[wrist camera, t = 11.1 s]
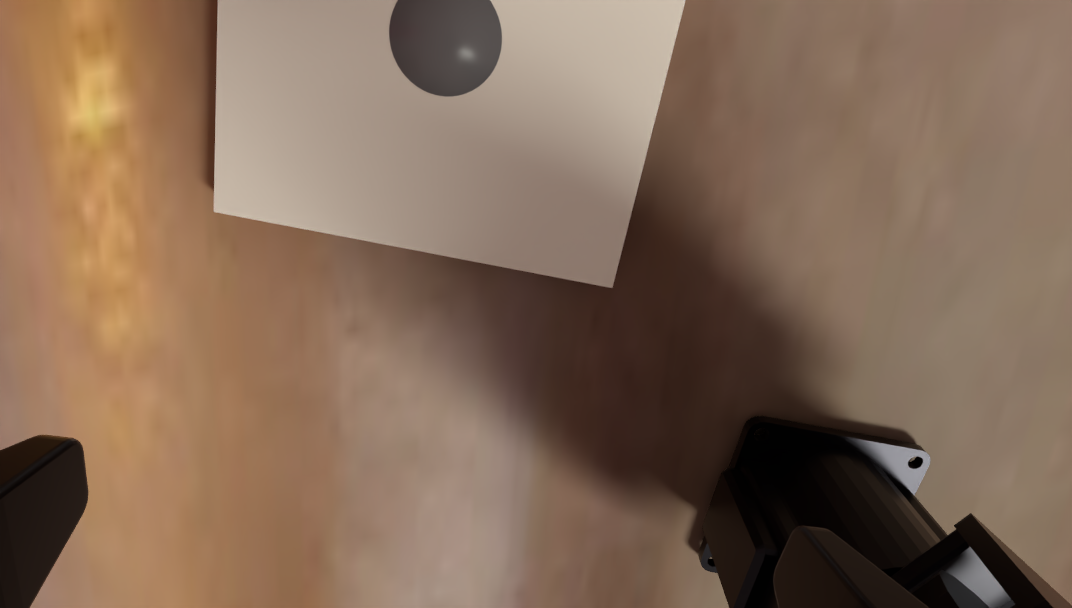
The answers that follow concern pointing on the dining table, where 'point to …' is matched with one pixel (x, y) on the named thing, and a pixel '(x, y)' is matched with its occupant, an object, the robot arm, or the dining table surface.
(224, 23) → the one-dot tile
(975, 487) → the dining table surface
